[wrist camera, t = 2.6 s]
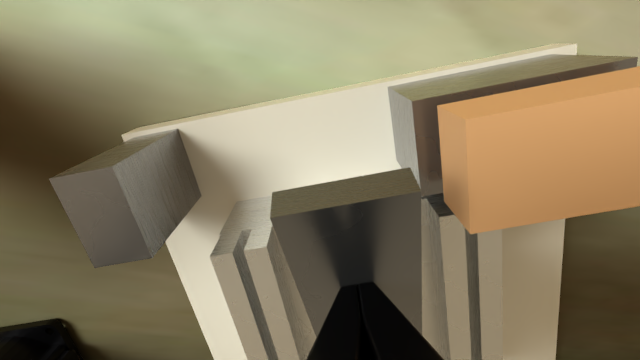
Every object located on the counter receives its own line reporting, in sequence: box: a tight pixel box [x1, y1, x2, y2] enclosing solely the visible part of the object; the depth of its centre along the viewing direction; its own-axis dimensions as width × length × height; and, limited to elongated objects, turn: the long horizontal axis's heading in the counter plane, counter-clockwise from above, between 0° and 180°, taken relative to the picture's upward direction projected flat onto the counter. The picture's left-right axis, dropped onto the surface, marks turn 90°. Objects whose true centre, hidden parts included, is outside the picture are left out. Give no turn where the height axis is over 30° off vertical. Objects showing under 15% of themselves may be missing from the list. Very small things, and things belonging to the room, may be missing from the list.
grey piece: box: [49, 54, 638, 360], centre depth 15 cm, size 18×16×5 cm
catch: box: [437, 66, 640, 234], centre depth 9 cm, size 6×3×3 cm, turn 101°
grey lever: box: [270, 167, 422, 338], centre depth 12 cm, size 3×15×1 cm, turn 11°
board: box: [121, 44, 577, 360], centre depth 18 cm, size 19×18×2 cm
